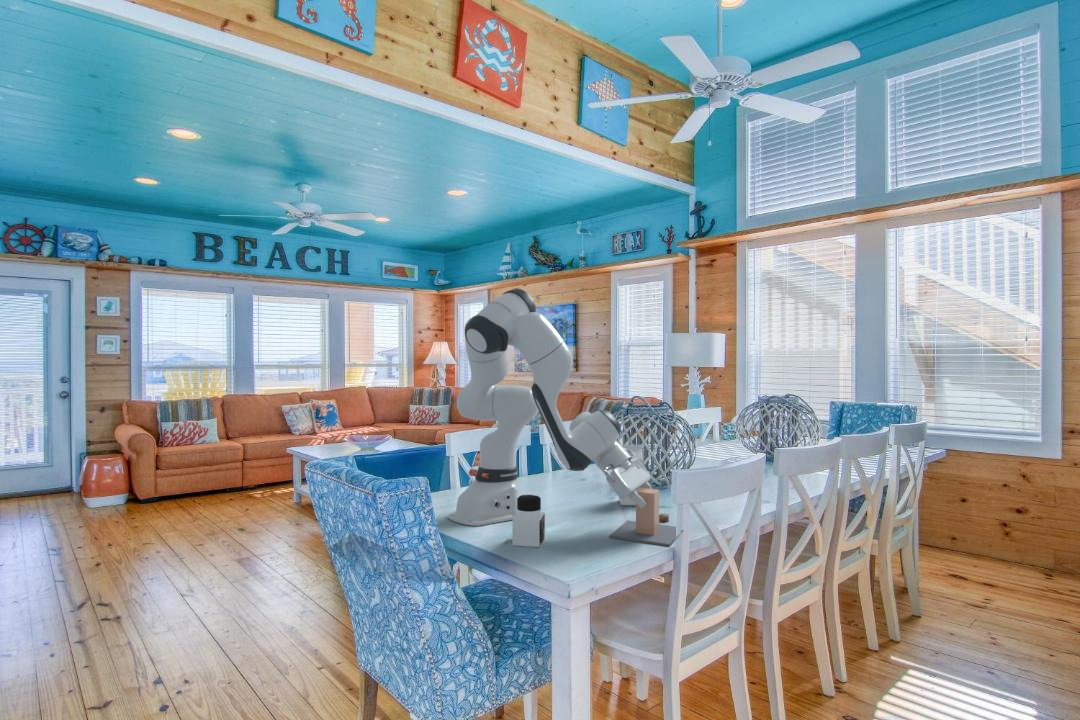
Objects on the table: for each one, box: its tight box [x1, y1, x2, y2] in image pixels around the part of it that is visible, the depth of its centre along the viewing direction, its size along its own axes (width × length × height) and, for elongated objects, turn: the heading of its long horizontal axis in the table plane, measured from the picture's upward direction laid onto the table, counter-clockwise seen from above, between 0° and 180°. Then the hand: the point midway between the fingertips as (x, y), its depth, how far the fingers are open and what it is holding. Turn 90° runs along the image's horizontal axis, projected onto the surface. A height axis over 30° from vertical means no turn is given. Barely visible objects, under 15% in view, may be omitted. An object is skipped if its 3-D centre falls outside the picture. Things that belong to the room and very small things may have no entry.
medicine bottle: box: [512, 493, 546, 548], centre depth 151 cm, size 7×7×12 cm
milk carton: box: [618, 444, 645, 506], centre depth 193 cm, size 7×7×19 cm
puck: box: [659, 513, 670, 523], centre depth 172 cm, size 3×3×2 cm
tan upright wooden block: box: [635, 488, 660, 535], centre depth 159 cm, size 5×5×11 cm
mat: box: [608, 520, 677, 547], centre depth 159 cm, size 16×16×1 cm
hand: (649, 501), depth 159 cm, fingers open, 8 cm apart
